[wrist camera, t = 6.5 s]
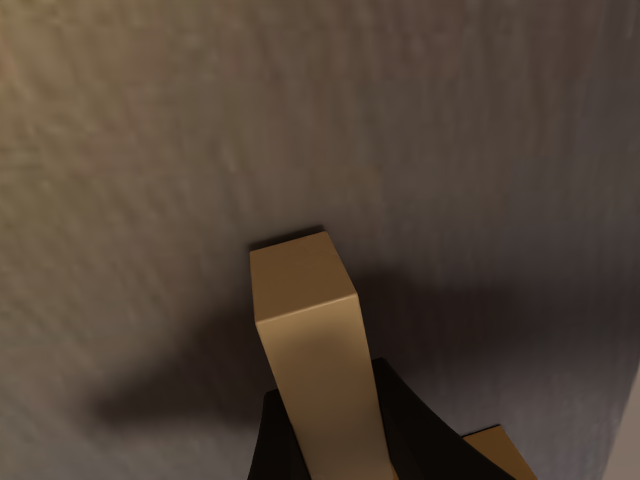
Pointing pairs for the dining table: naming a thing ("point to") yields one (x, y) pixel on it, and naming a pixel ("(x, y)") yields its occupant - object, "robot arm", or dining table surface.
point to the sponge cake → (498, 453)
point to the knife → (320, 358)
